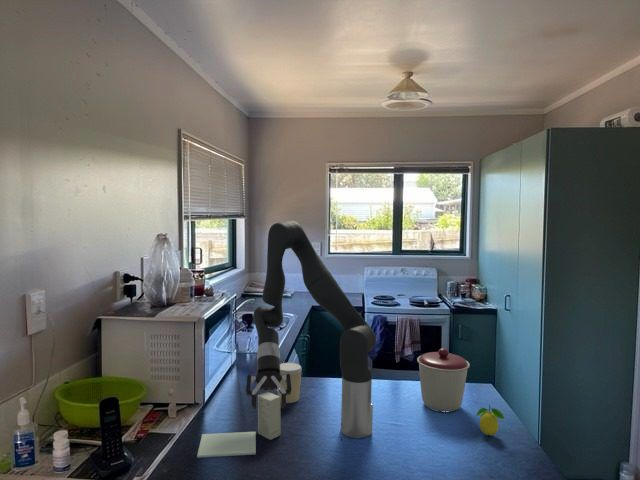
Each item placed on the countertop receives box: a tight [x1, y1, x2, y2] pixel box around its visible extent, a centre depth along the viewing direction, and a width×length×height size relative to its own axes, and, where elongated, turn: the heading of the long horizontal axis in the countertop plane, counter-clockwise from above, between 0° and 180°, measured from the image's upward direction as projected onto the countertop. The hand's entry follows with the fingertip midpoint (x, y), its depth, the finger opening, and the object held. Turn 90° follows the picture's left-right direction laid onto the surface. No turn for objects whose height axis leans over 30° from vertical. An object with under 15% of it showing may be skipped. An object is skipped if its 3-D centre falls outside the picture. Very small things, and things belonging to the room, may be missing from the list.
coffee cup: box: [277, 362, 302, 404], centre depth 162 cm, size 9×9×12 cm
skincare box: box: [257, 391, 282, 440], centre depth 135 cm, size 6×4×12 cm
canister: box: [416, 347, 471, 413], centre depth 158 cm, size 18×18×21 cm
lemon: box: [476, 404, 505, 436], centre depth 137 cm, size 7×6×10 cm
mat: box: [196, 431, 257, 459], centre depth 129 cm, size 16×12×1 cm
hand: (268, 407), depth 136 cm, fingers open, 8 cm apart
